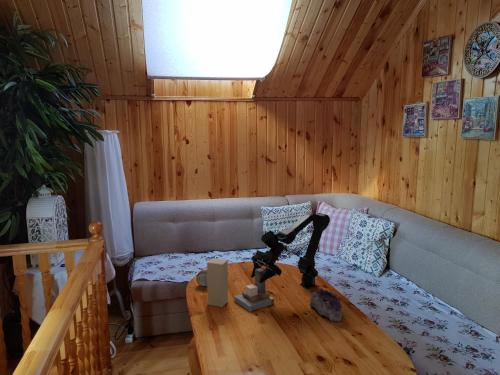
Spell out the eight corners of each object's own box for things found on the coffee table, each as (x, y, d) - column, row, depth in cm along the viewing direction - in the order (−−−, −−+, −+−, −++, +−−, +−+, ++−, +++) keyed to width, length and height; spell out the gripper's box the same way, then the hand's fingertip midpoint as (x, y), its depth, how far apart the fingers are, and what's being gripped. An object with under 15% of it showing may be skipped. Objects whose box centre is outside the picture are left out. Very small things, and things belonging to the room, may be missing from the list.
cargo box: (252, 291, 196) (252, 284, 195) (257, 294, 193) (257, 286, 192) (245, 293, 194) (245, 286, 193) (250, 296, 190) (250, 288, 190)
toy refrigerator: (228, 300, 196) (228, 259, 193) (222, 307, 190) (222, 264, 186) (213, 298, 199) (212, 257, 196) (207, 304, 192) (206, 262, 189)
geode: (352, 320, 178) (351, 299, 175) (329, 328, 174) (328, 307, 172) (328, 299, 196) (327, 280, 194) (307, 306, 193) (305, 287, 190)
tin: (225, 285, 215) (225, 270, 213) (224, 288, 212) (224, 272, 210) (197, 284, 216) (196, 269, 215) (195, 287, 213) (195, 271, 212)
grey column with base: (259, 290, 201) (258, 265, 199) (270, 297, 194) (269, 271, 192) (242, 296, 196) (241, 270, 194) (252, 302, 188) (252, 276, 186)
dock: (258, 294, 204) (258, 289, 203) (273, 303, 193) (273, 298, 193) (234, 301, 196) (234, 296, 196) (249, 311, 186) (249, 306, 185)
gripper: (253, 239, 201) (235, 265, 197) (277, 249, 186) (257, 277, 182) (266, 251, 207) (248, 277, 203) (290, 262, 192) (271, 289, 187)
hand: (255, 279), depth 193 cm, fingers open, 7 cm apart
